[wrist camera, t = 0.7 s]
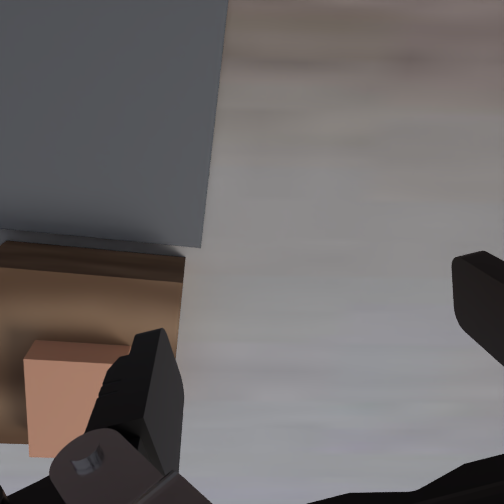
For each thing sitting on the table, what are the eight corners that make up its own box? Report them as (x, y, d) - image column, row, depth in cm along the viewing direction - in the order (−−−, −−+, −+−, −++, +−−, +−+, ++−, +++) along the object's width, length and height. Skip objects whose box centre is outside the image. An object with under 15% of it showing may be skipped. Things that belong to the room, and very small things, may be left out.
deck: (6, 240, 29) (-23, 265, 26) (185, 257, 31) (182, 282, 27) (17, 403, 35) (-5, 443, 31) (170, 409, 36) (166, 448, 33)
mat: (-36, -62, 23) (-40, -64, 22) (229, -12, 25) (229, -13, 24) (-11, 224, 29) (-14, 227, 28) (200, 245, 31) (200, 248, 30)
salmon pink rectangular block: (35, 339, 28) (23, 359, 26) (130, 345, 29) (125, 364, 27) (39, 433, 31) (29, 456, 29) (126, 436, 32) (121, 459, 30)
